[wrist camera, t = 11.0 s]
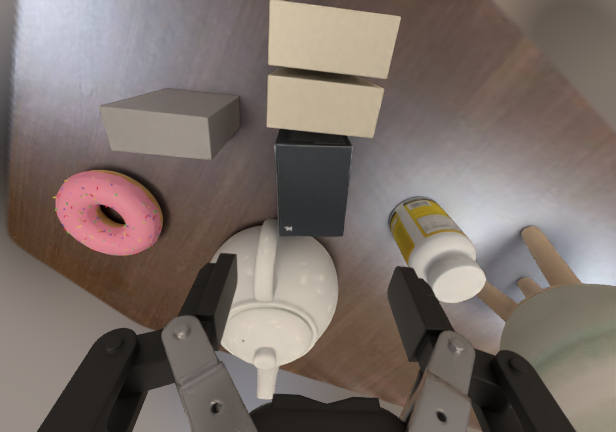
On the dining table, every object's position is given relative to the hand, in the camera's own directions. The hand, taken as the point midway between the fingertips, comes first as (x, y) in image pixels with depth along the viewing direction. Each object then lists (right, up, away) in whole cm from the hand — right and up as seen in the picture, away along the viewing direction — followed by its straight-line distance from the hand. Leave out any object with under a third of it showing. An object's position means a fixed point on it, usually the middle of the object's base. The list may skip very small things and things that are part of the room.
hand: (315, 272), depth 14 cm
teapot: (-5, -4, +25) cm, 26 cm away
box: (0, +10, +16) cm, 19 cm away
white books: (+1, +17, +12) cm, 20 cm away
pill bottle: (+13, +3, +20) cm, 24 cm away
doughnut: (-23, +4, +19) cm, 30 cm away
